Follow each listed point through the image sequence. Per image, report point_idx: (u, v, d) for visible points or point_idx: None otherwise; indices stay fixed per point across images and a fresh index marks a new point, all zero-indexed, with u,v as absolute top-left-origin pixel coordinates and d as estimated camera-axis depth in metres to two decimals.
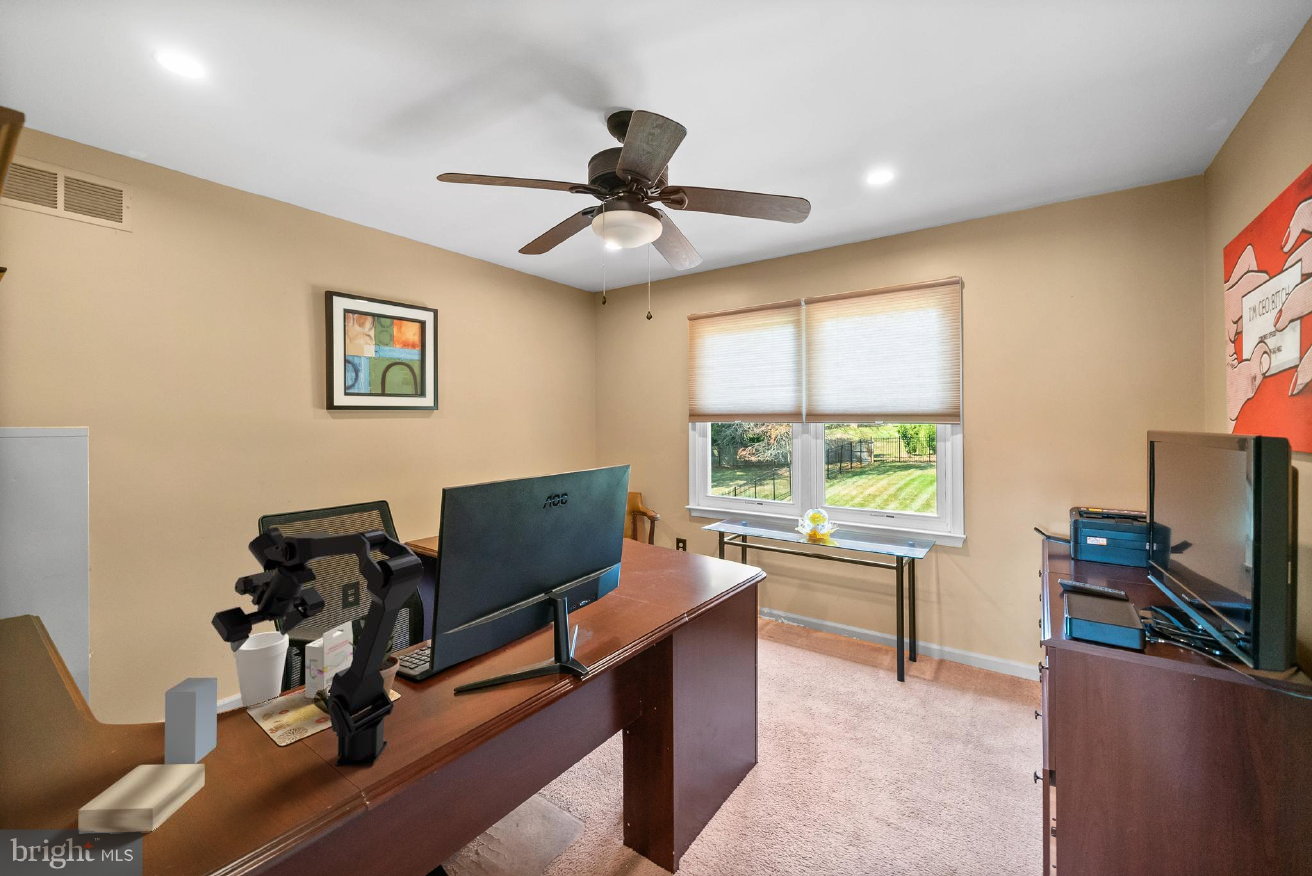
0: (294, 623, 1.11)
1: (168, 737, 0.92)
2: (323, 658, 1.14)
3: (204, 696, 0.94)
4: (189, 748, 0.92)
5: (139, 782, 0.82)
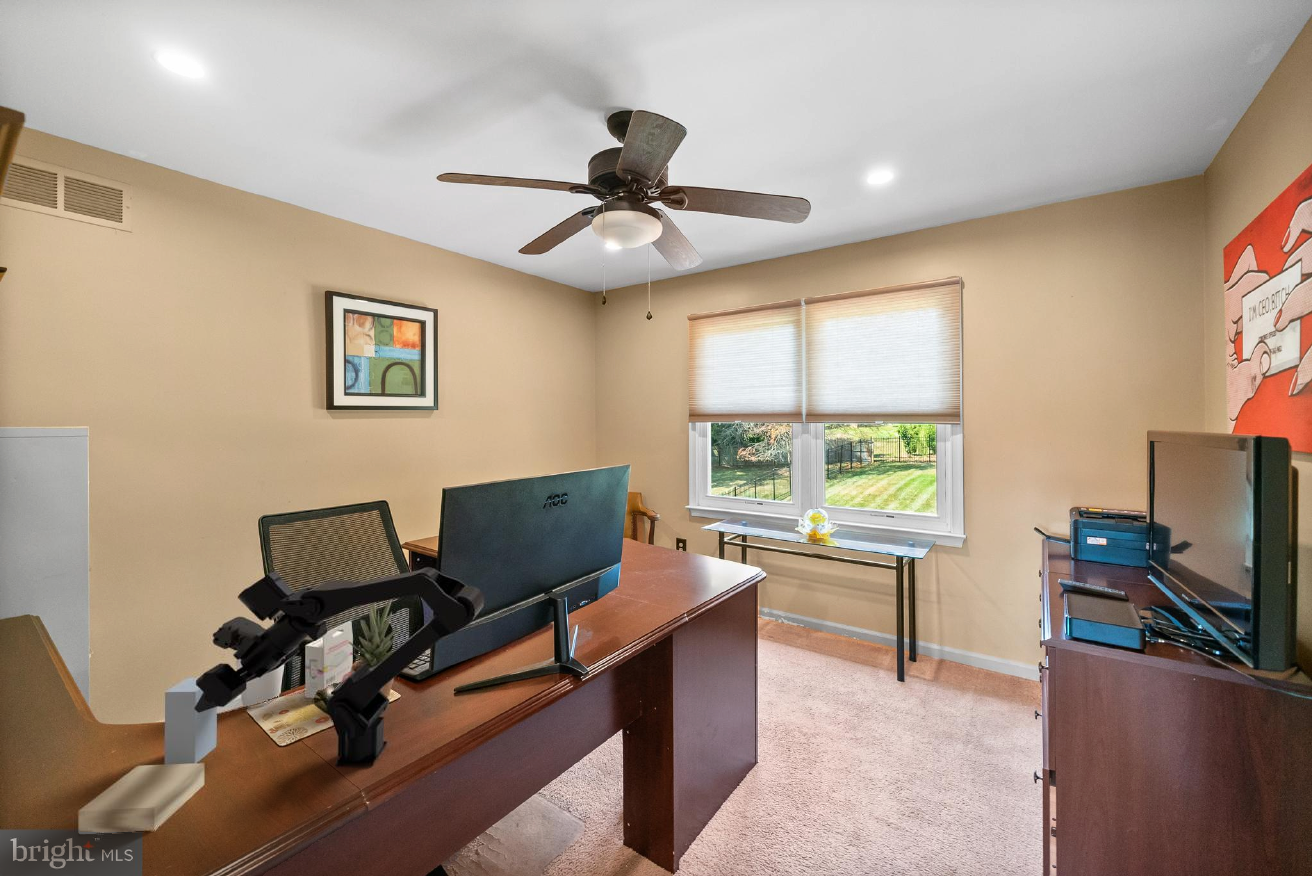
0: None
1: (168, 737, 0.92)
2: (323, 658, 1.14)
3: None
4: (189, 748, 0.92)
5: (138, 782, 0.82)
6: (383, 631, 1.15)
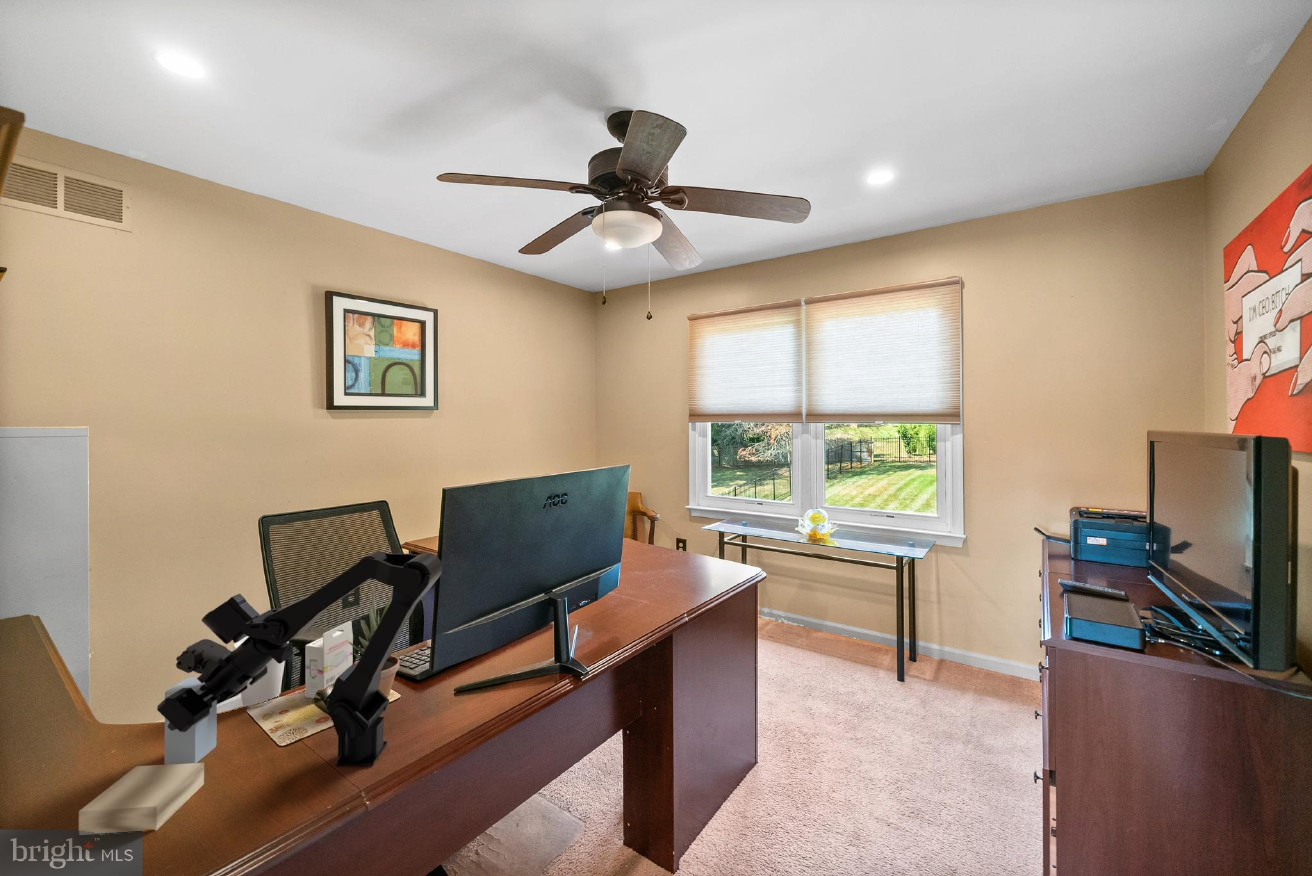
0: (220, 699, 0.97)
1: (168, 737, 0.92)
2: (323, 658, 1.14)
3: None
4: (189, 747, 0.92)
5: (138, 782, 0.82)
6: None
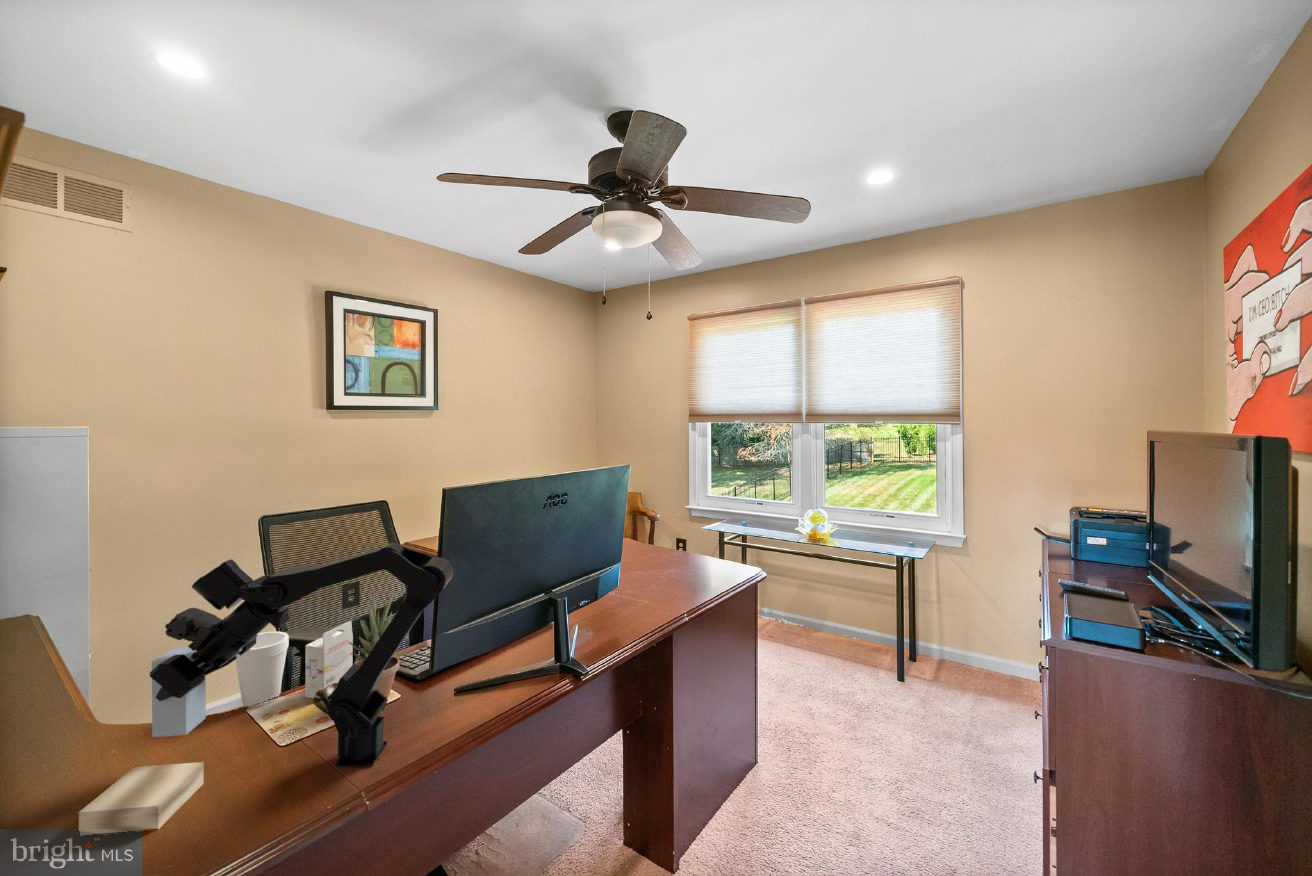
0: (209, 670, 0.95)
1: (156, 708, 0.89)
2: (323, 658, 1.14)
3: None
4: (179, 718, 0.89)
5: (137, 783, 0.82)
6: (383, 631, 1.15)
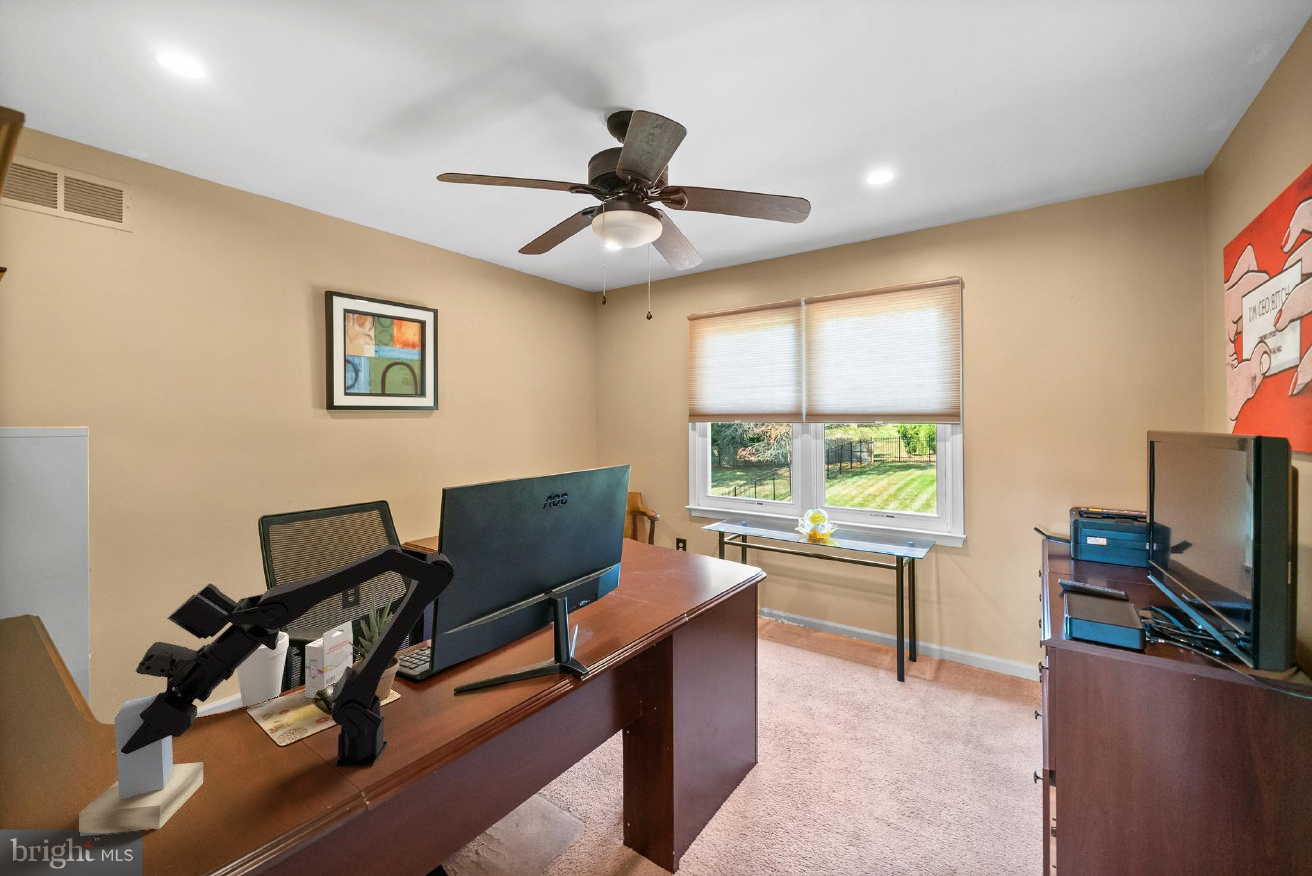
0: None
1: (123, 768, 0.78)
2: (323, 658, 1.14)
3: None
4: (154, 773, 0.80)
5: None
6: None
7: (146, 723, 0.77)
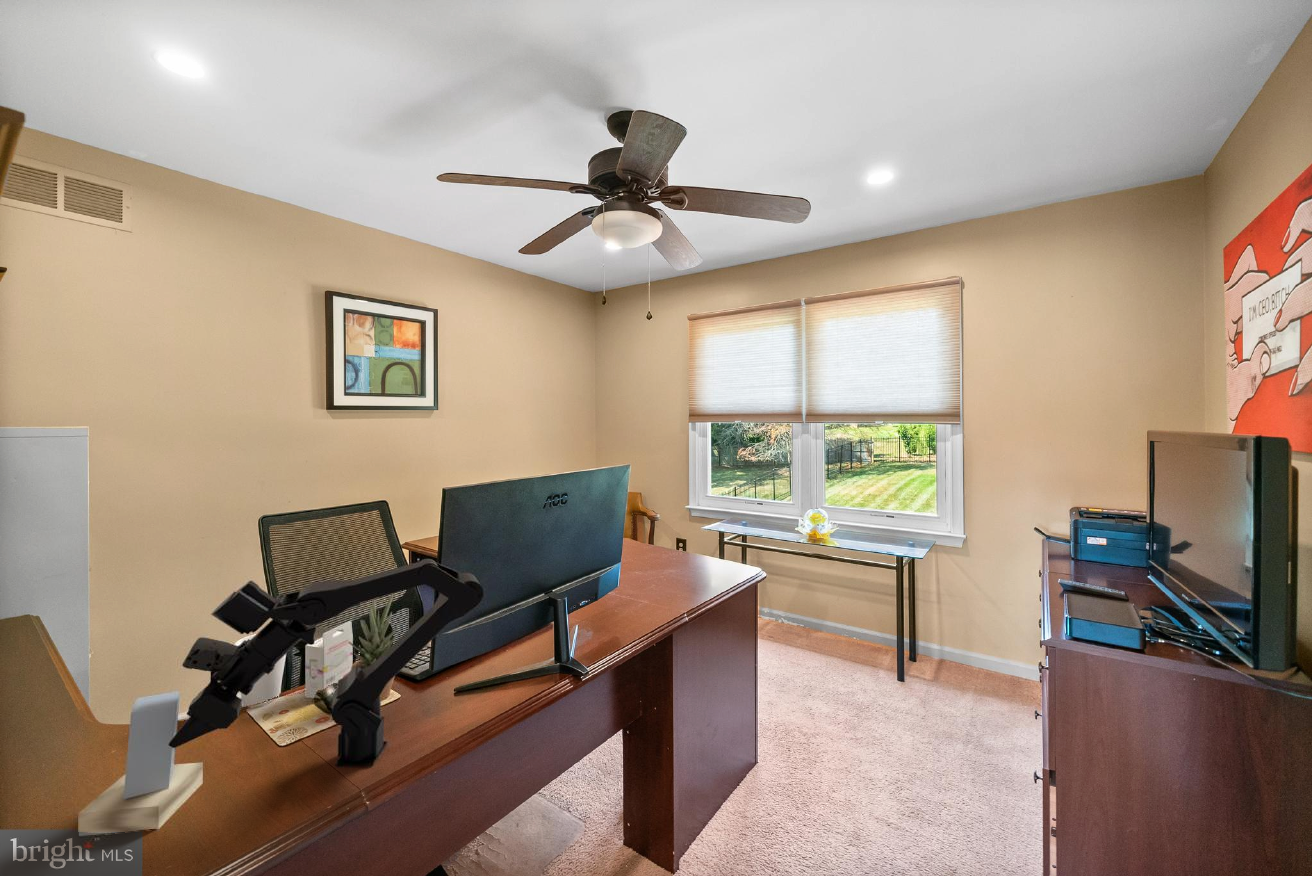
0: None
1: (131, 765, 0.79)
2: (323, 658, 1.14)
3: (176, 711, 0.83)
4: (161, 771, 0.81)
5: None
6: (383, 631, 1.15)
7: (193, 717, 0.79)
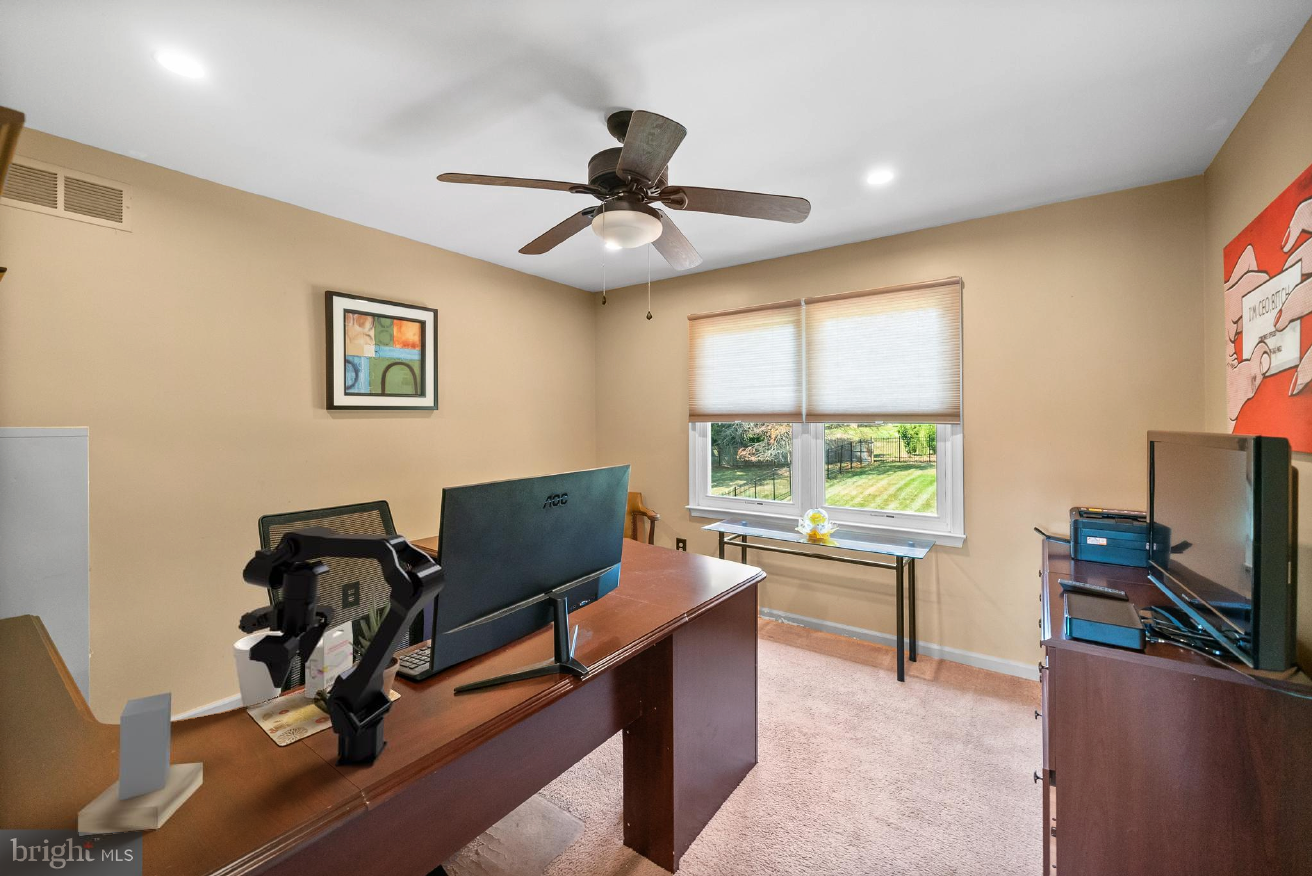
0: (315, 640, 1.04)
1: (125, 768, 0.79)
2: (323, 658, 1.14)
3: (168, 712, 0.82)
4: (156, 772, 0.81)
5: None
6: None
7: (268, 663, 0.93)
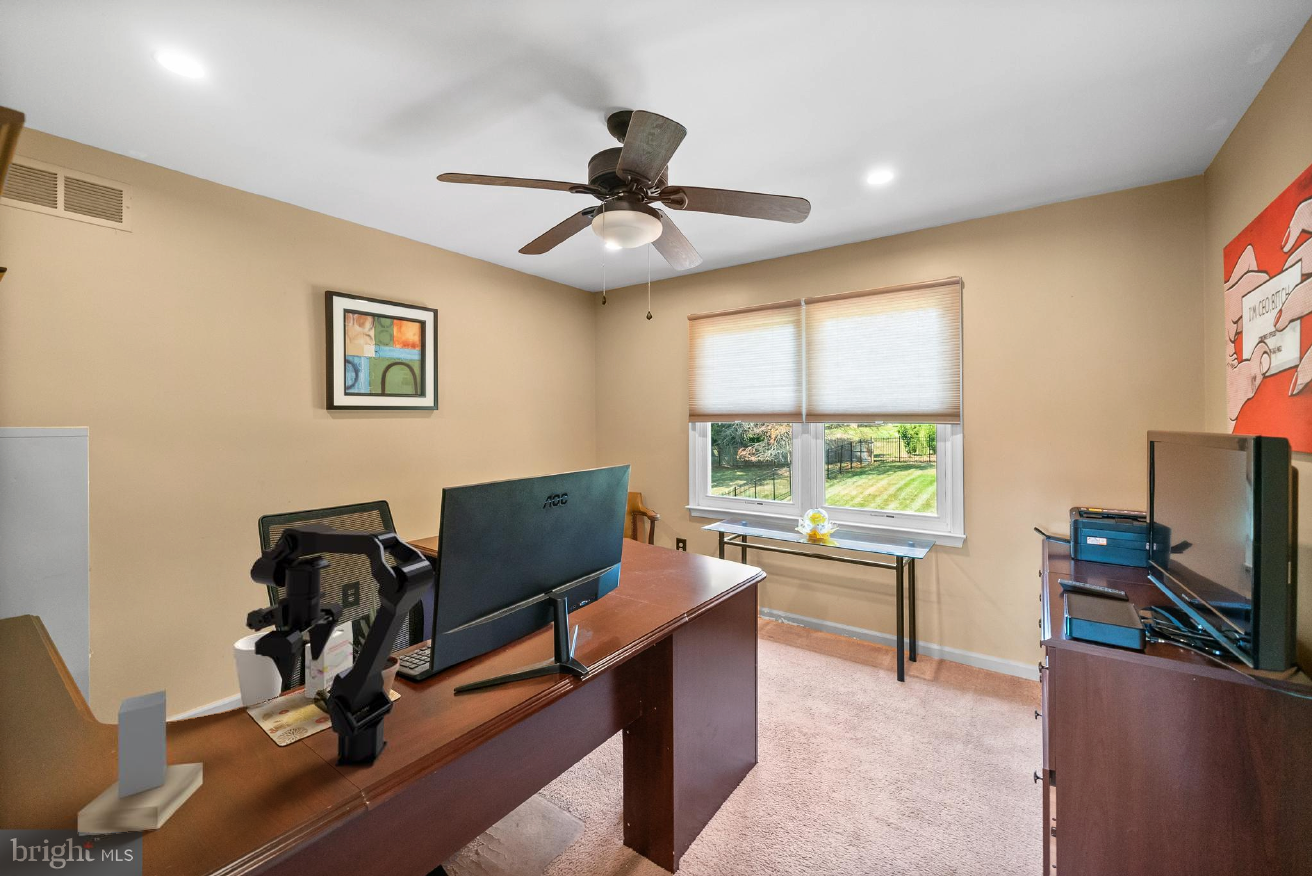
0: (324, 637, 1.05)
1: (124, 765, 0.79)
2: (323, 658, 1.14)
3: (164, 709, 0.83)
4: (155, 768, 0.81)
5: None
6: None
7: (275, 658, 0.94)
